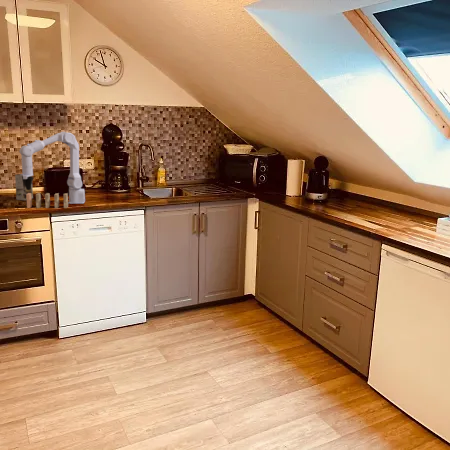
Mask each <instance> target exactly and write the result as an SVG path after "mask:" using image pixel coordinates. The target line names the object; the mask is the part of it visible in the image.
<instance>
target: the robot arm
mask: <svg viewBox="0 0 450 450" xmlns="http://www.w3.org/2000/svg"><path fill="white" fill-rule="evenodd" d="M55 142H61V143H64V144H65V145H66V146H67V147H69V175H68V178H67V180H66V184H67V186H68V196H69V197H68V204H71V205H72V204H75V205H76V204H85V202H86V194H85V193H86V191H85V188H82V187H83V181H82V176H81V174H80V144H79V142H78V141H77V138H76V135H74V134H73V133H71V132H67V131H61V132H58V133H55V134H53V135H51V136H49V137H47V138H45V139H43V140H40V139H35V140H34V141H33V142H31V143H27V144H26V145H23V146H21V147H20V149H19V154H20V156H21V169H22V170H21V172H22V173H19V174H20V175H22V176H23V178H22V180H23V181H24V183H25V186H26V189H27V190H31V186H32V187H33V182H34V177H35V176H34V168H33V166H34V165H33V154H35V153H37V152H40V151H42V150H44V148H45V146H48V145H51V144H53V143H55ZM31 176H32V177H31Z"/></svg>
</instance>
